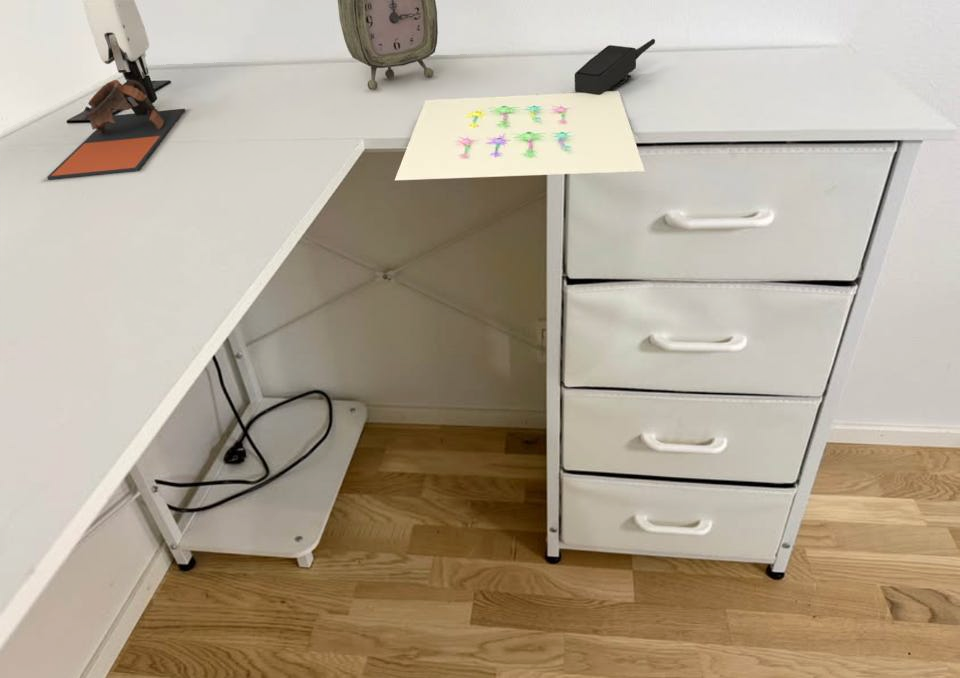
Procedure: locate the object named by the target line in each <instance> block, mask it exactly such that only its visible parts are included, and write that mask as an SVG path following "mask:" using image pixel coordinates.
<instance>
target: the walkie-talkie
mask: <svg viewBox="0 0 960 678" xmlns="http://www.w3.org/2000/svg"><path fill="white" fill-rule="evenodd" d="M655 44H656V39H655V38H652V39H650V40H649V41H647V42H645V43H644V44H643V45H641V46H640V47H638V48H635V47H631V46H630V47H629V46H622V45H611V44H610V45H607V46H606V47H604V48H603V49H602V50H601V51H599V52H598V53H597V54H595V55H594V56H593V57H592V58H590V59H589V60H588V61H587V62H586V63H584V64H583V66H581V67H580V68H579V69H578V70H577V71H576V72H574V93H588V94H595V95H601V94H602V93H604V92H608V91H614V90H615V89H616V88H618V87H619V86H621V85H623V84H625V83H626V82H627V81H628V80H629V79H631V78H632V75H631V74H630V73H631V72H633V71H635V69H636V68H637V60H638V58H639V57H640V56H641V55H642V54H643V53H645V52H646V51H648V50H649V49H650V48H651V47H652V46H653V45H655Z"/></svg>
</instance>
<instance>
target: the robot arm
mask: <svg viewBox="0 0 960 678" xmlns="http://www.w3.org/2000/svg"><path fill="white" fill-rule="evenodd" d="M82 2H83V7H84V11H85V15H86V18H87V21H88V24H89V27H90V31H91V34H92V37H93V39H94V42H95V45H96V46H95V47H96V48H97V51H98V54H99V57H100V60H101V61H102V62H103V63H104V64H105V65H110V64H112V63H114V62H115V66H116V70H117V72H118V73H119V74H122V75H123V78H124V80H126V82H127V81H128V80H135V81H138V82H139V83H140V84H142V85H143V87H144V88H145V90H146V92H147V95H148V98H149V100H150V101H151V102H152V104H154V103H156V101H157V100H158V96H157V93H156V90H155V88H154V84H153V81H152V79H151V76H150V72H149V68H148V65H147V64H148V63H147V61H146V56H147V55H146V52H147V51H148V49H149V48H150V42H149V38H148V34H147V32H146V28H145V25H144V22H143V20H142V17H141V14H140V11H139V9H138V6H137V4H136V2H135V0H82Z"/></svg>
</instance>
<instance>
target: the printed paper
mask: <svg viewBox="0 0 960 678" xmlns="http://www.w3.org/2000/svg"><path fill="white" fill-rule="evenodd" d="M629 172H633V173H634V172H646V171H645V168H644V164H643V161H642V158H641V155H640V152H639V148H638V146H637V143H636V139H635V137H634V134H633V130H632V128H631V124H630V121H629V118H628V115H627V112H626V109H625V105H624V102H623V100H622V96H621V93H620V91H619V90H611V91H608V92H604V93H602V94H601V95H595V94H588V93H581V92H569V93H549V94H546V93H545V94H527V95H525V94H524V95H507V96H506V95H505V96H503V95H502V96H485V97H463V98H446V99H445V98H443V99H425V100H424V102H423V104H422V108H421V110H420V113H419V115H418V118H417V121H416V124H415V126H414V129H413V131H412V134H411V137H410V139H409V141H408V144H407V147H406V150H405V152H404V154H403V158H402V160H401V163H400V164H399V168H398V170H397V173H396V176H395V178H394V181H414V180H415V181H416V180H442V179H443V180H445V179H468V178H469V179H470V178H472V179H473V178H495V177H521V176H522V177H523V176H547V175H549V176H551V175H576V174H579V175H581V174H600V173H602V174H605V173H607V174H608V173H629Z"/></svg>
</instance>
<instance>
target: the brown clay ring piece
mask: <svg viewBox="0 0 960 678" xmlns="http://www.w3.org/2000/svg"><path fill="white" fill-rule="evenodd" d="M87 104H88V105H89V106H90V107H91V108H92V109H91V108H90V107H89V106H86V107H85V108H84V110H83V115H84V116H85V117H86V118H87V119H89V122H90V125H91V128H92V129H93V130H99V131H101V132H104V130H105V124H106V123H109V122H110V123H116V122H115V120H114V117H113V115H114V113H113V110H115V111H127V110H132V112H133V114H134V113H135V115H136V116H140V115H147V113H148V112H149V113H150V114H151V115H150V117H149V120H150V121H151V122H153V123H154V124H155V126H156V128H157V129H158V130H160V129H161V127H162V126H163V123H164V119H163V118H162V116H161V115H160V113H159V112H158V111H159V110H158V108H156V106H155V105H153V104H154V103H152V102H151V101H150V100H149V98H148V95H147V92H146V90H145V88H144V87H143V85H142V84H140V83H139V82H138V81H135V80H128V81H127V80H126V81H125V82H124V83H121V82H120V81H119V80H118V79H113V80H111V81H109V82H107V83H105V84H104V85H103V86H102V87H101V88H99V90H97V92H96V93H95V94H93V96H92V98H91V99H90V100H89V101H88V103H87Z"/></svg>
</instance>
